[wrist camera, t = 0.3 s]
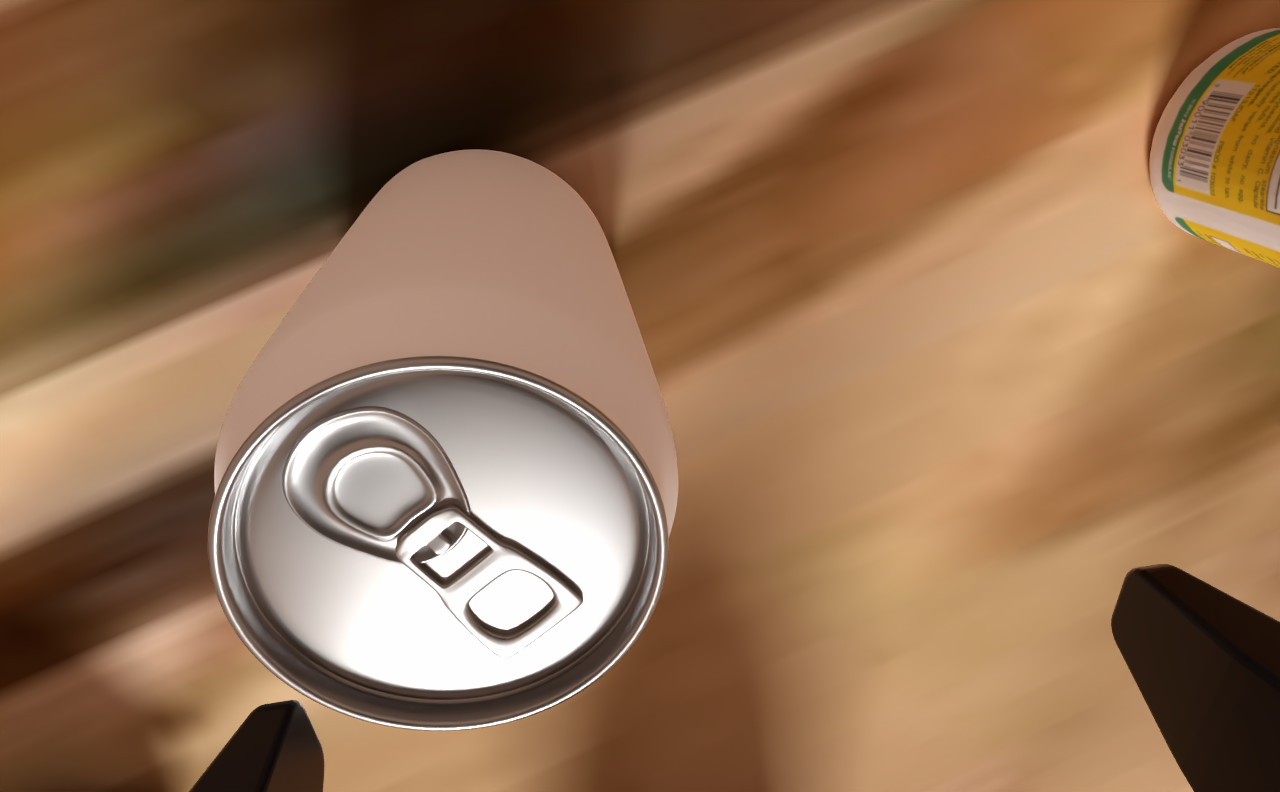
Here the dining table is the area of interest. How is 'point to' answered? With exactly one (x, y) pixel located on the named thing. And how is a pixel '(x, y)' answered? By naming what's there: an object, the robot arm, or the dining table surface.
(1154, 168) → the supplement bottle
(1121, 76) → the dining table surface
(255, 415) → the can
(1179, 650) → the robot arm
